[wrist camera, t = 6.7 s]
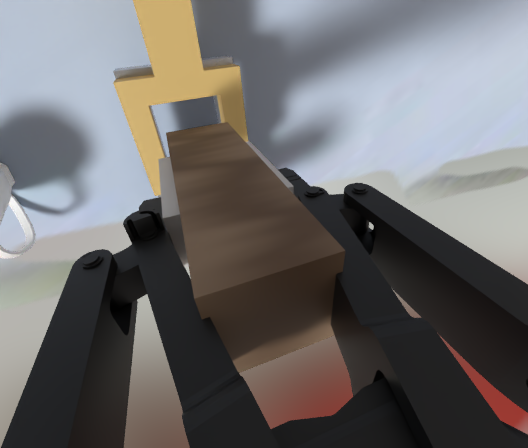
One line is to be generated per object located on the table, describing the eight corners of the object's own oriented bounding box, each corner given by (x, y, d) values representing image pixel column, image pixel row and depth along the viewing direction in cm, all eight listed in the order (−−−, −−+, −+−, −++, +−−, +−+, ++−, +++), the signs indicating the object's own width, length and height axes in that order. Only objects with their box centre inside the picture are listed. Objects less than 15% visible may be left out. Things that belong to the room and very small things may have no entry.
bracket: (62, -105, 18) (18, -175, 12) (193, -103, 20) (213, -162, 14) (153, 162, 30) (155, 196, 24) (231, 147, 32) (251, 174, 26)
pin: (182, 188, 19) (223, 379, 9) (166, 132, 17) (193, 298, 6) (235, 176, 20) (334, 335, 9) (227, 121, 18) (345, 250, 7)
